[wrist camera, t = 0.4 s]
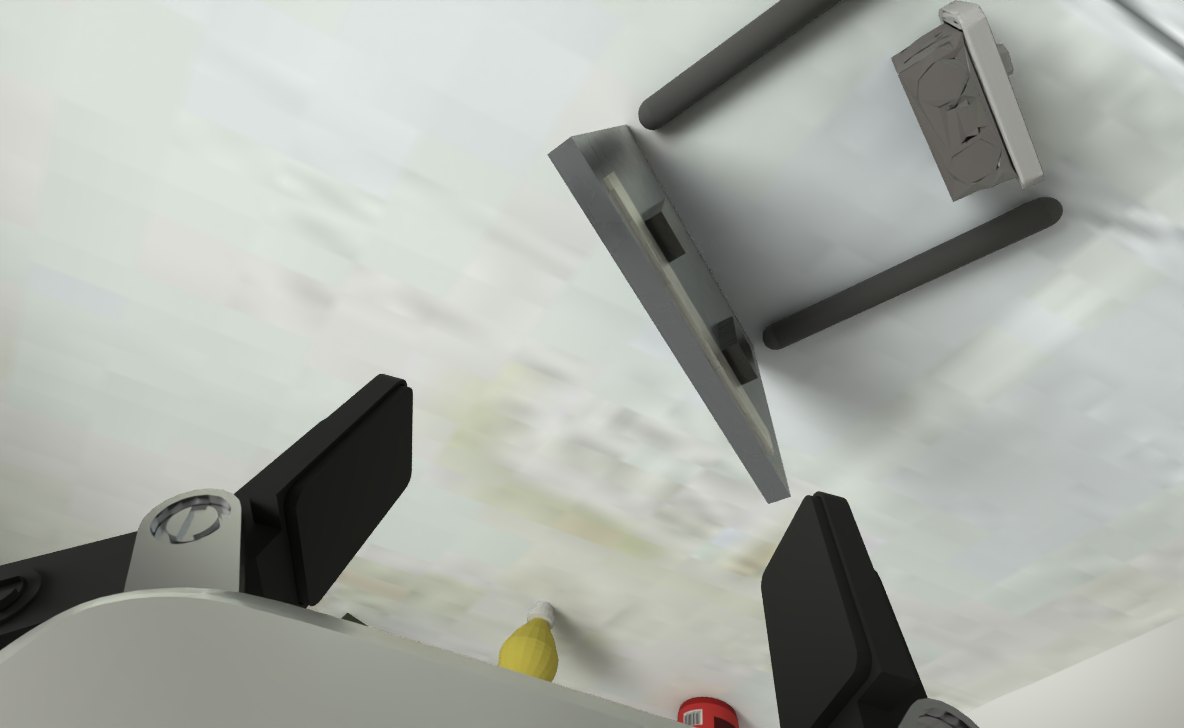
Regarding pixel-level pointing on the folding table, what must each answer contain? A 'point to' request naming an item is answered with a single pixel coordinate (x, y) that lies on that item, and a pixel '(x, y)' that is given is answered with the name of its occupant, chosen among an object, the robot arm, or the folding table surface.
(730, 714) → the canned food
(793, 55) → the folding table surface
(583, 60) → the folding table surface
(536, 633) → the light bulb
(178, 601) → the robot arm
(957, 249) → the cable far
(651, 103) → the cable near
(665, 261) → the panel
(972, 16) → the electrical switch
